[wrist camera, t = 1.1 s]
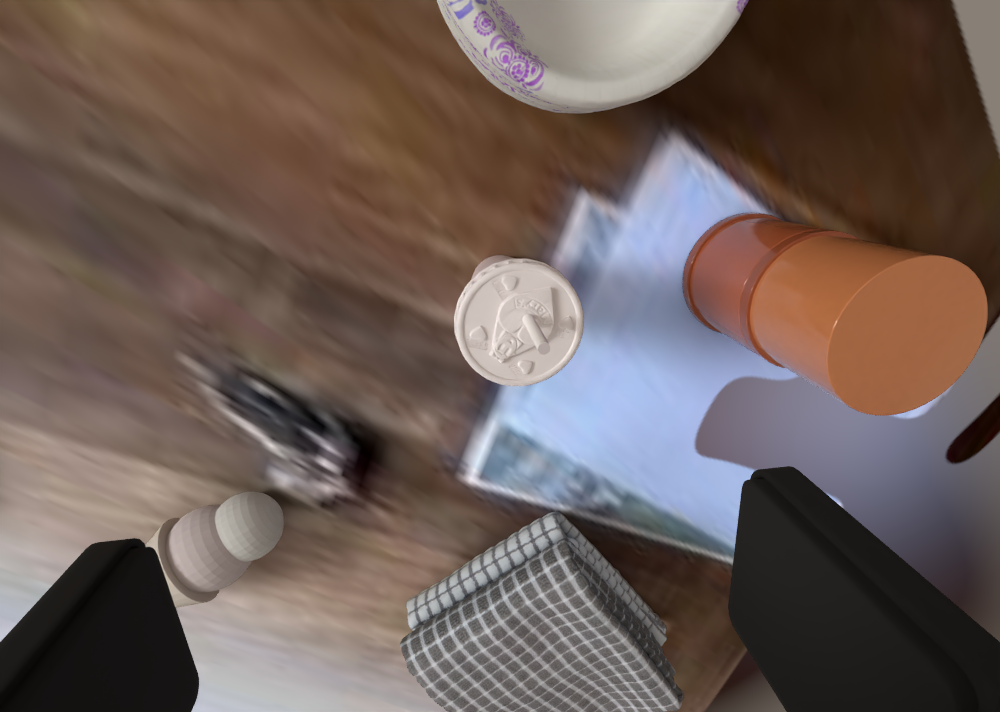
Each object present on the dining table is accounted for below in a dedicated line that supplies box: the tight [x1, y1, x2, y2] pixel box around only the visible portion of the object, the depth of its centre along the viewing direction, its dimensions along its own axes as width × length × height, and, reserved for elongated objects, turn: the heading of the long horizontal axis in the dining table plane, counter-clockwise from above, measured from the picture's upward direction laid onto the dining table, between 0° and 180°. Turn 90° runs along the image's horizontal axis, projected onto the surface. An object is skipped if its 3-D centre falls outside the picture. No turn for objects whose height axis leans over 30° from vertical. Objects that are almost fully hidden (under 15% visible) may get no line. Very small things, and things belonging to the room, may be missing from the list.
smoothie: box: [454, 255, 584, 386], centre depth 28 cm, size 6×6×14 cm
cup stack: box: [683, 213, 988, 415], centre depth 30 cm, size 8×8×14 cm
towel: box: [400, 511, 684, 712], centre depth 41 cm, size 15×18×8 cm
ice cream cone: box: [145, 492, 284, 608], centre depth 36 cm, size 6×6×15 cm
